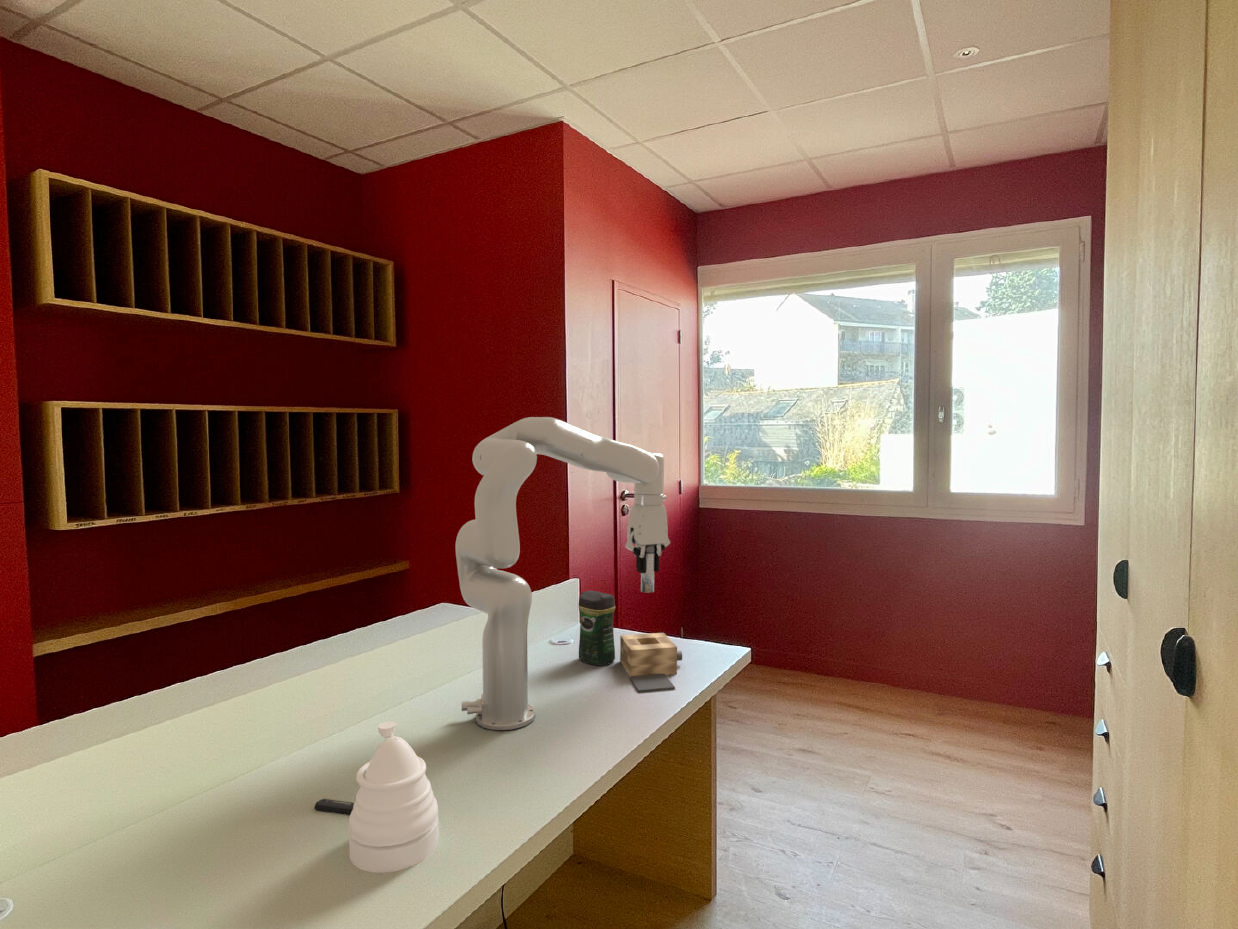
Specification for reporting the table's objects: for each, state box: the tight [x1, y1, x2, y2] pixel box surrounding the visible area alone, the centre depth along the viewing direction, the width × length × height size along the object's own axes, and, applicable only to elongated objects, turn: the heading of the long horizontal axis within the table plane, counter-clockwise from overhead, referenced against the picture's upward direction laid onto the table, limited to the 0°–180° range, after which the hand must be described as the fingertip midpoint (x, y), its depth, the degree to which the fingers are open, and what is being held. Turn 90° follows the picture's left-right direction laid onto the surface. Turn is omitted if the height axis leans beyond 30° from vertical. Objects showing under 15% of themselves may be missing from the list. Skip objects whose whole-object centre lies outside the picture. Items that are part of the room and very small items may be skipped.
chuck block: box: [619, 632, 683, 677], centre depth 179 cm, size 15×12×7 cm
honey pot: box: [348, 720, 440, 874], centre depth 103 cm, size 13×13×18 cm
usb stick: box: [314, 798, 355, 816], centre depth 113 cm, size 10×3×2 cm, turn 78°
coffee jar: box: [578, 589, 616, 666], centre depth 183 cm, size 10×8×19 cm
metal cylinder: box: [640, 545, 655, 594], centre depth 177 cm, size 3×3×12 cm
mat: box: [629, 674, 676, 693], centre depth 167 cm, size 9×9×1 cm
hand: (647, 570), depth 177 cm, fingers closed on metal cylinder, 3 cm apart
